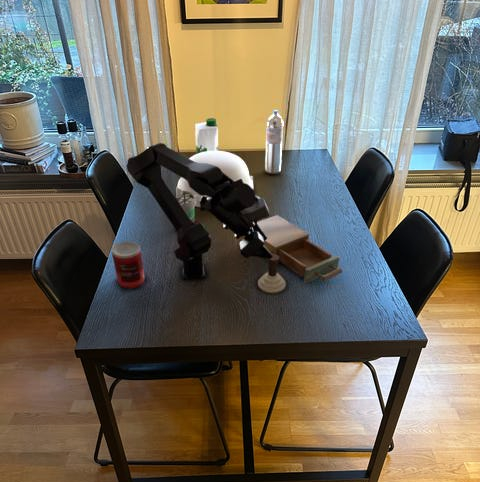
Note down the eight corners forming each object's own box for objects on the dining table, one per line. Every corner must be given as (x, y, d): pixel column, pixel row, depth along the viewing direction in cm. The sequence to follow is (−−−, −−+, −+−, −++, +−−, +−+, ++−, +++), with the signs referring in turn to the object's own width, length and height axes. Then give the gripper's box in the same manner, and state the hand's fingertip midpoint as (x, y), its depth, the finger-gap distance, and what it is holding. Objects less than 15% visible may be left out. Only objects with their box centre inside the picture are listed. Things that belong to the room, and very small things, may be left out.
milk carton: (220, 170, 194) (219, 122, 182) (200, 172, 192) (197, 124, 180) (215, 162, 201) (214, 116, 188) (195, 165, 199) (192, 117, 186)
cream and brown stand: (288, 291, 127) (290, 264, 121) (260, 294, 126) (261, 266, 121) (282, 275, 133) (284, 248, 128) (255, 277, 132) (256, 250, 127)
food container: (192, 234, 151) (190, 207, 145) (174, 233, 152) (171, 205, 146) (201, 217, 161) (200, 191, 154) (185, 216, 161) (183, 189, 155)
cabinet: (307, 250, 144) (309, 234, 140) (274, 264, 138) (275, 247, 134) (276, 231, 154) (277, 214, 150) (243, 243, 148) (244, 226, 144)
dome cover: (187, 214, 163) (184, 177, 154) (166, 182, 184) (162, 148, 175) (268, 200, 172) (270, 164, 163) (239, 171, 194) (239, 138, 185)
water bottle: (261, 170, 195) (264, 109, 179) (275, 167, 197) (279, 107, 181) (269, 176, 190) (272, 114, 174) (283, 173, 192) (287, 112, 176)
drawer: (347, 275, 132) (349, 263, 129) (316, 290, 126) (318, 277, 124) (304, 248, 144) (305, 236, 141) (274, 260, 138) (275, 248, 135)
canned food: (132, 270, 135) (127, 238, 128) (150, 280, 131) (146, 247, 124) (112, 281, 130) (105, 249, 123) (130, 292, 126) (124, 259, 120)
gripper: (256, 209, 104) (298, 247, 112) (246, 175, 118) (284, 212, 126) (222, 240, 108) (265, 275, 116) (216, 204, 123) (255, 237, 131)
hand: (268, 248), depth 122 cm, fingers open, 9 cm apart
